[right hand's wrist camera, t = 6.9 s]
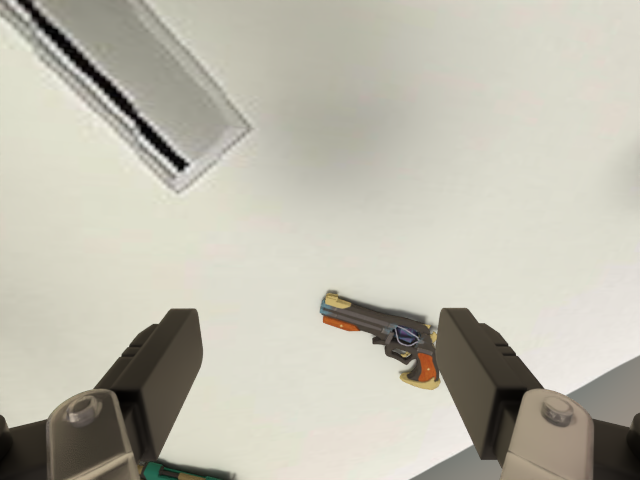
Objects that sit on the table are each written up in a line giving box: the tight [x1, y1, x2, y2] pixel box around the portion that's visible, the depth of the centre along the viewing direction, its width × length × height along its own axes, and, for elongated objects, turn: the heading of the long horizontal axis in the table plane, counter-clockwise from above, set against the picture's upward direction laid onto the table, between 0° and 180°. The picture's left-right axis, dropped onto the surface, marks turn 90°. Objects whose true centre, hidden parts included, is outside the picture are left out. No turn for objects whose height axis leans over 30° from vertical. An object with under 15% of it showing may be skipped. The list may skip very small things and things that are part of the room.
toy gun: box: [320, 293, 440, 390], centre depth 46 cm, size 3×19×10 cm
